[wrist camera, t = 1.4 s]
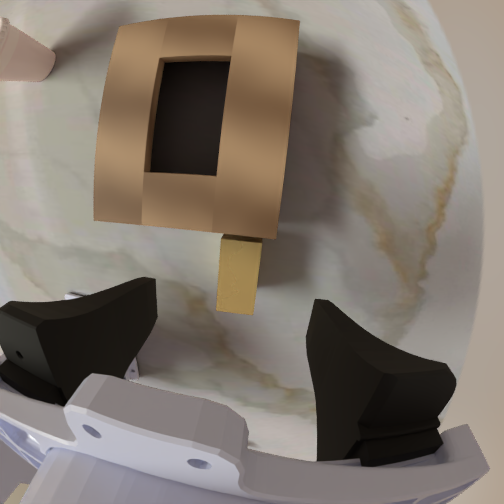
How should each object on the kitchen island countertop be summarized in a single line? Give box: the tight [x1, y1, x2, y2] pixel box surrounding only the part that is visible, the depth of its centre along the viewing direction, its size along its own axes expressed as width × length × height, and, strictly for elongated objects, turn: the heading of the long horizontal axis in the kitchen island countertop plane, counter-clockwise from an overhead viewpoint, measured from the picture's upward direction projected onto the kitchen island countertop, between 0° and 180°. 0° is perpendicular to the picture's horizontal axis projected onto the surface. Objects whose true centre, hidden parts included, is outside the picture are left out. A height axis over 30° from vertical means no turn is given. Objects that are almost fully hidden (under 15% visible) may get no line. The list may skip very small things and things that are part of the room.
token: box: [216, 234, 262, 315], centre depth 20 cm, size 5×2×4 cm, turn 174°
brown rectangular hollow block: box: [94, 15, 300, 239], centre depth 16 cm, size 14×12×5 cm
